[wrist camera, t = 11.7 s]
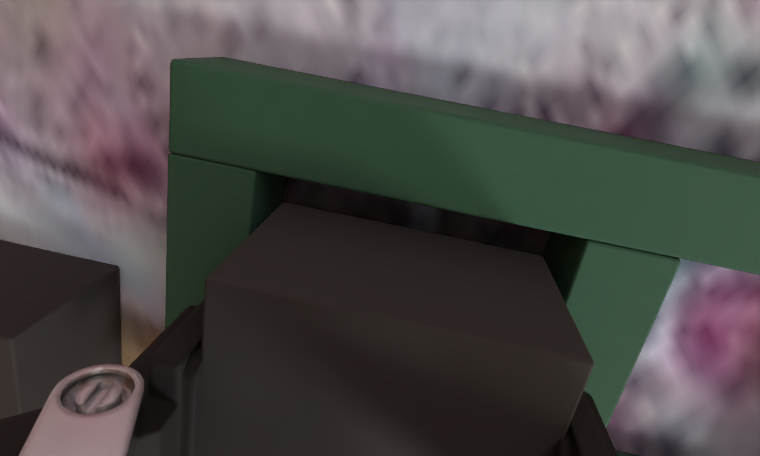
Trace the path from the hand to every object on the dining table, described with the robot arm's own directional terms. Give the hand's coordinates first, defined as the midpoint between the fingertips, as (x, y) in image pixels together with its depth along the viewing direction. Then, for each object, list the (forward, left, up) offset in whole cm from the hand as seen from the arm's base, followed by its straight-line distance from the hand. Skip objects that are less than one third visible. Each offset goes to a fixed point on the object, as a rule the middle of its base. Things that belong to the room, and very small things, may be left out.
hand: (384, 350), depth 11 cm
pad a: (0, 0, -1) cm, 1 cm away
